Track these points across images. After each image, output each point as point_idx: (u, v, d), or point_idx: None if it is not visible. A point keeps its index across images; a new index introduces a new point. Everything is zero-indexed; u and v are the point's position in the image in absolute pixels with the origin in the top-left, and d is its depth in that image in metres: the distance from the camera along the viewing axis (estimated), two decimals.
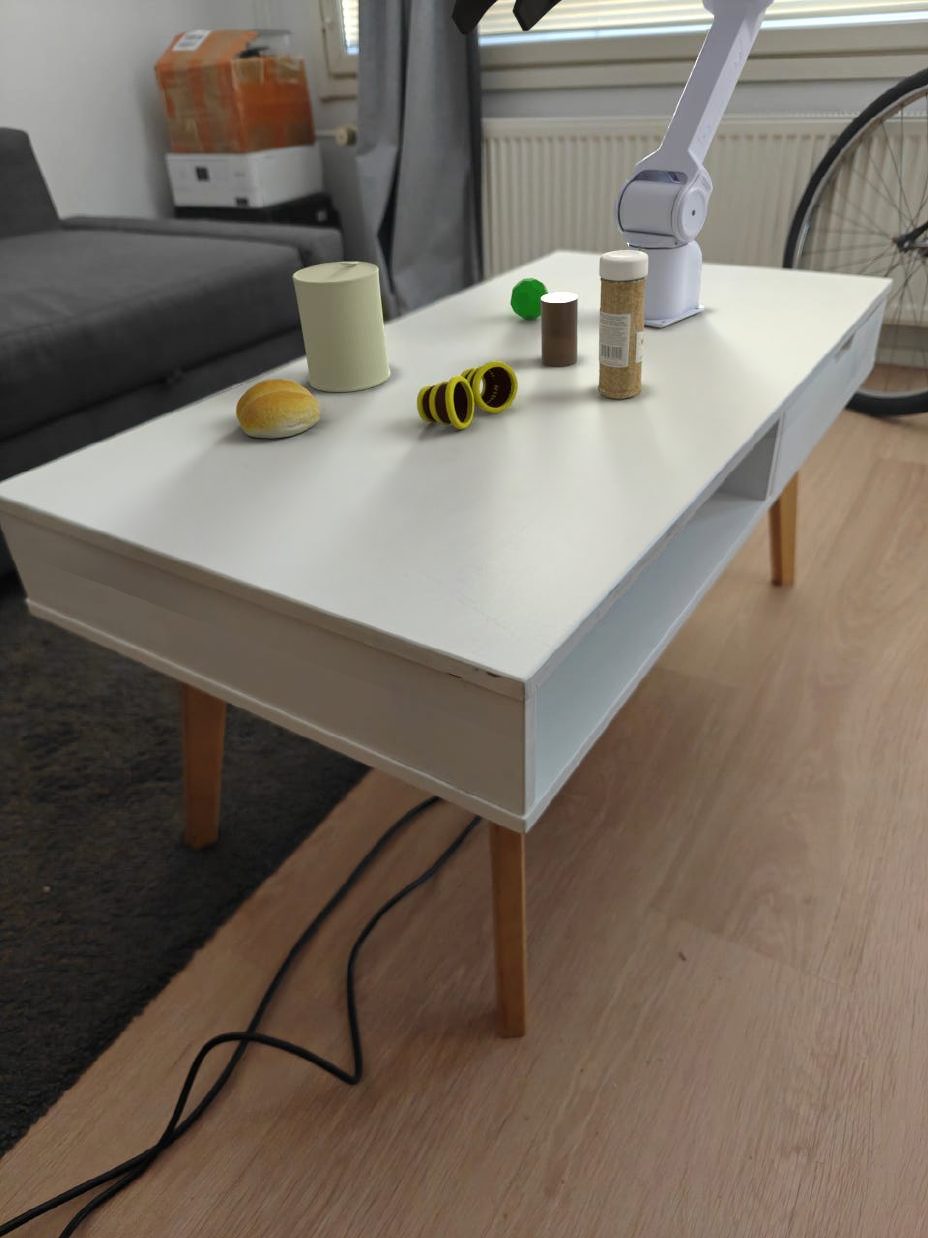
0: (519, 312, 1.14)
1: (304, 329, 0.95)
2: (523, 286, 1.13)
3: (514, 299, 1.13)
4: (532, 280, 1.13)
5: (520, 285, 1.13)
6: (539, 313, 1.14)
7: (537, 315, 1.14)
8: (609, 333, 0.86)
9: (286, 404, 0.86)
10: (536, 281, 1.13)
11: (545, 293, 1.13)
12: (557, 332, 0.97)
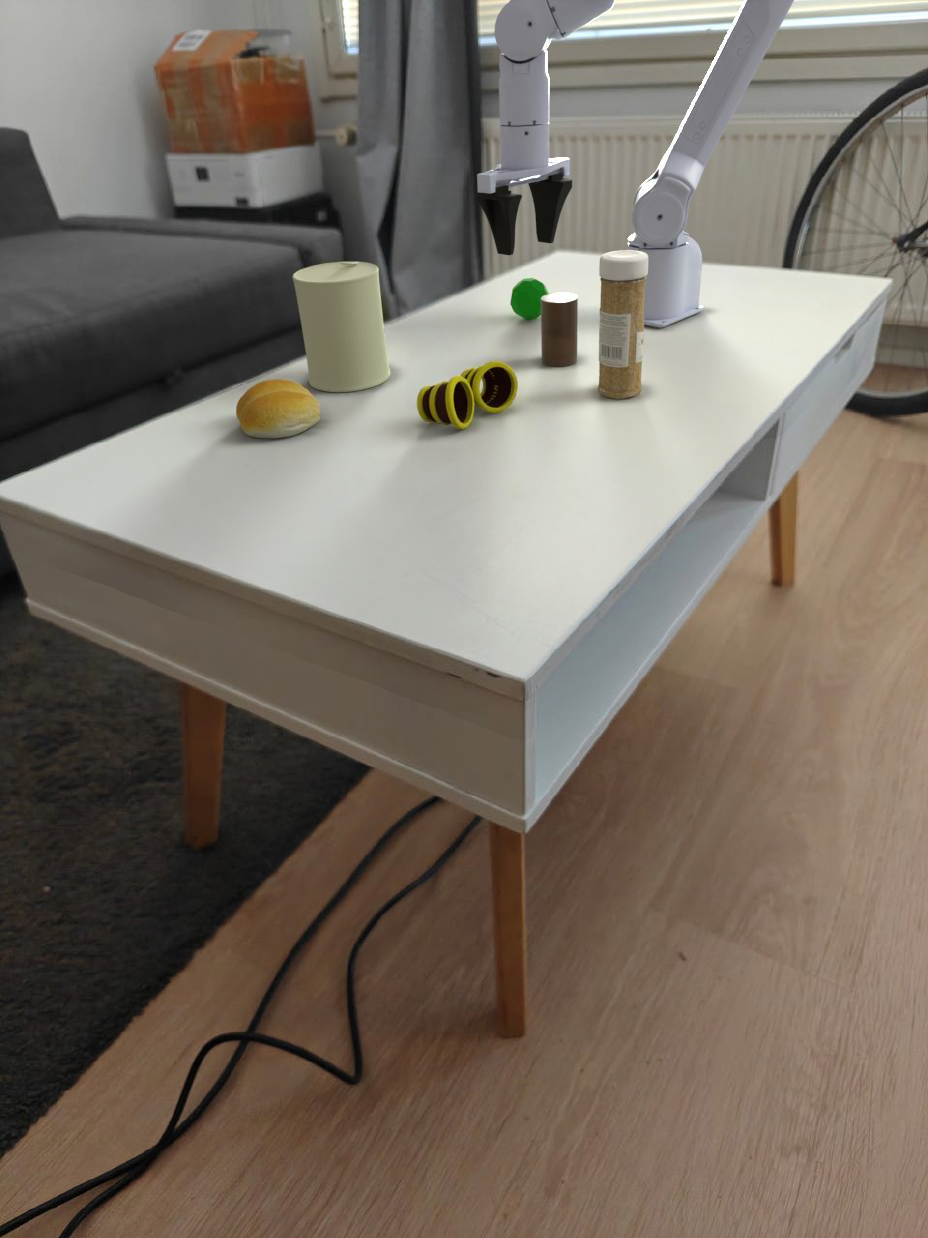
0: (519, 312, 1.14)
1: (304, 329, 0.95)
2: (523, 286, 1.13)
3: (514, 299, 1.13)
4: (532, 280, 1.13)
5: (520, 285, 1.13)
6: (539, 313, 1.14)
7: (537, 315, 1.14)
8: (609, 333, 0.86)
9: (286, 404, 0.86)
10: (536, 281, 1.13)
11: (545, 293, 1.13)
12: (557, 332, 0.97)
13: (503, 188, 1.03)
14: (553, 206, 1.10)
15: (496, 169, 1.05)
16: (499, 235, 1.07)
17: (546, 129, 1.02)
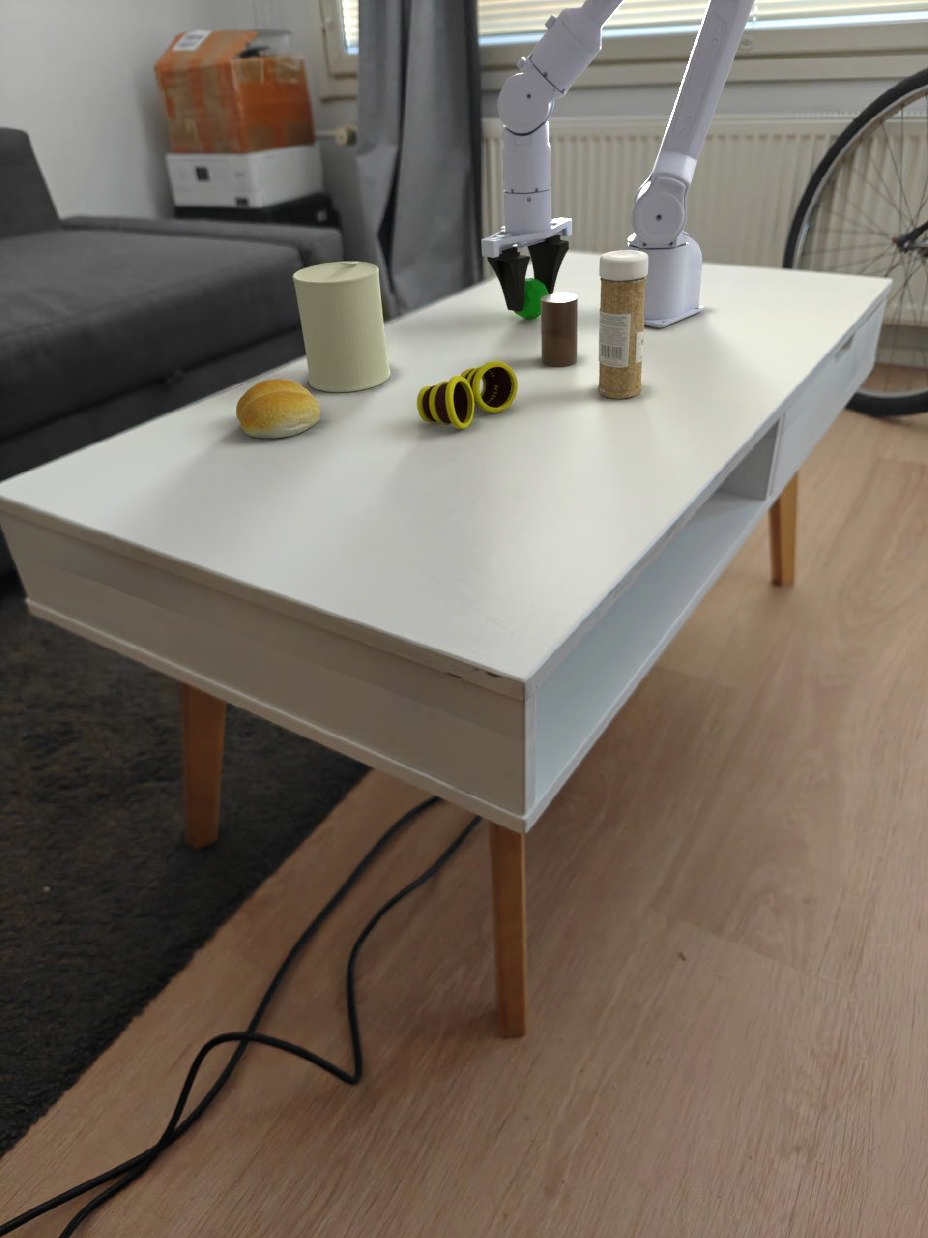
0: (519, 312, 1.14)
1: (304, 329, 0.95)
2: None
3: None
4: (532, 280, 1.13)
5: None
6: (539, 313, 1.14)
7: (537, 315, 1.14)
8: (609, 333, 0.86)
9: (286, 404, 0.86)
10: (536, 281, 1.13)
11: (545, 293, 1.13)
12: (557, 332, 0.97)
13: (512, 250, 1.08)
14: (550, 267, 1.13)
15: (500, 232, 1.10)
16: (509, 293, 1.12)
17: (548, 195, 1.06)
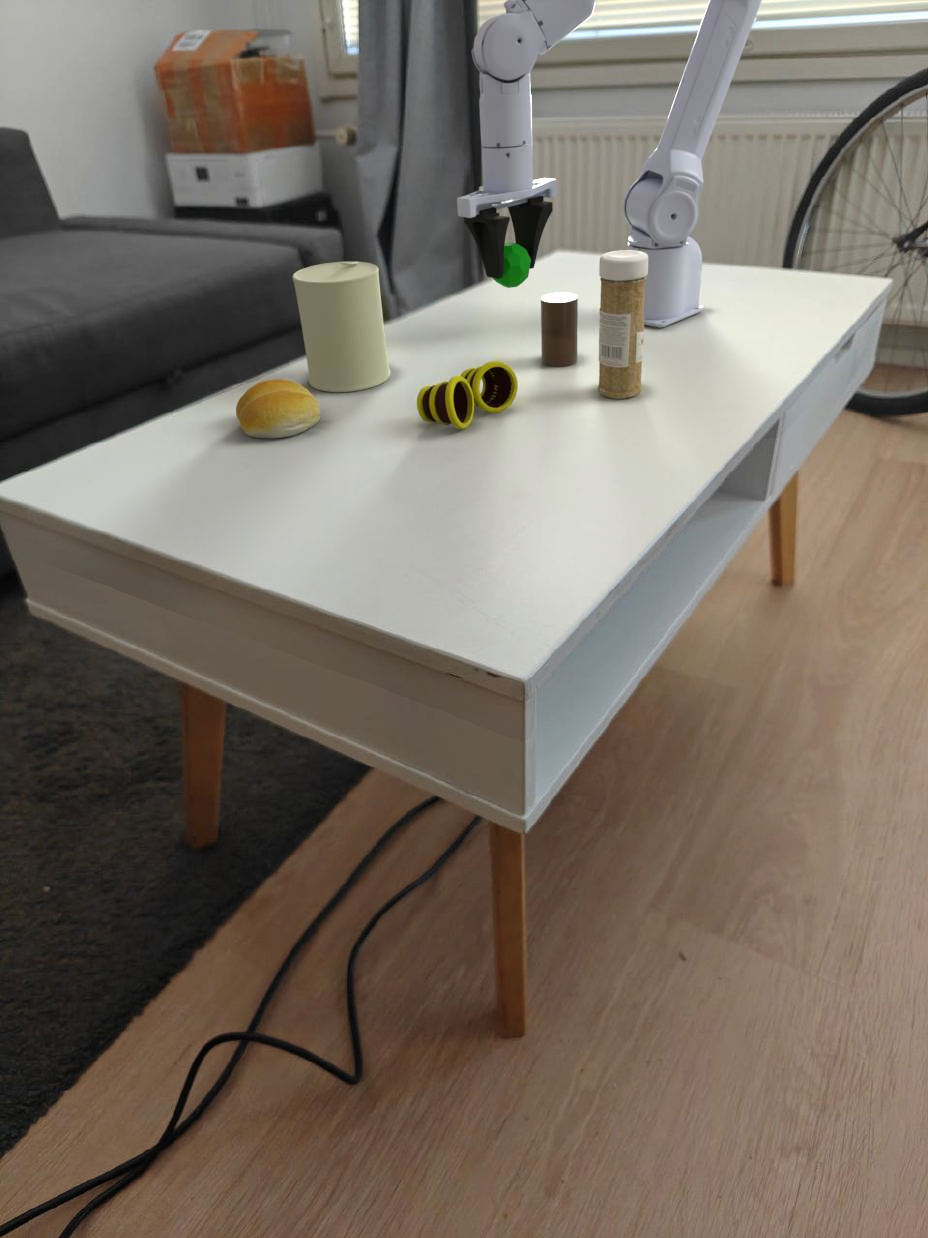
0: (499, 279, 1.06)
1: (304, 329, 0.95)
2: None
3: None
4: (513, 244, 1.05)
5: None
6: (520, 280, 1.06)
7: (518, 283, 1.06)
8: (609, 333, 0.86)
9: (286, 404, 0.86)
10: (517, 246, 1.05)
11: (527, 259, 1.05)
12: (557, 332, 0.97)
13: (491, 210, 1.00)
14: (533, 230, 1.05)
15: (478, 192, 1.02)
16: (488, 258, 1.04)
17: (529, 150, 0.98)
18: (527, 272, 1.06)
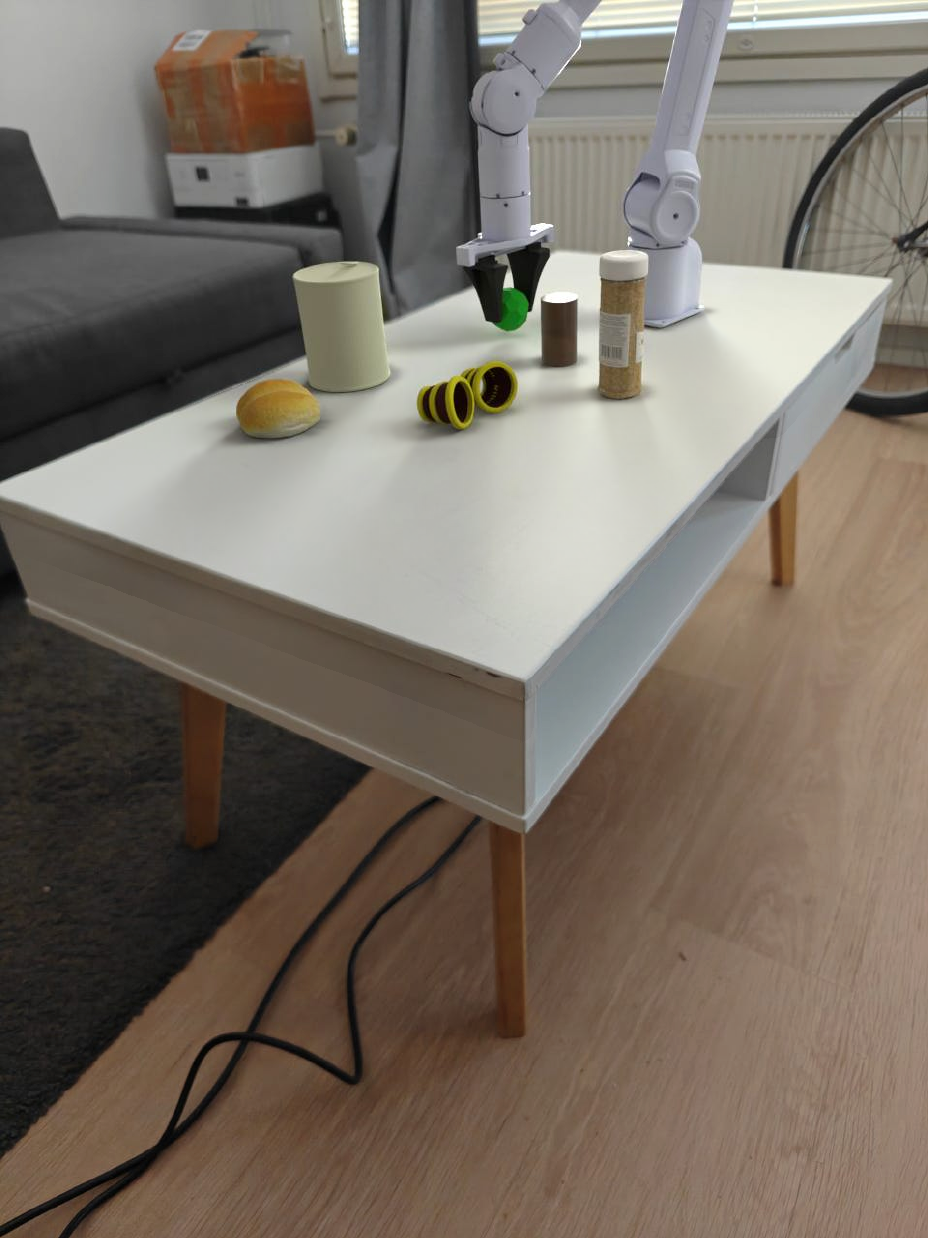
0: (497, 323, 1.08)
1: (304, 329, 0.95)
2: None
3: None
4: (511, 290, 1.07)
5: None
6: (518, 324, 1.08)
7: (516, 327, 1.08)
8: (609, 333, 0.86)
9: (286, 404, 0.86)
10: (515, 291, 1.07)
11: (525, 303, 1.07)
12: (557, 332, 0.97)
13: (489, 258, 1.02)
14: (531, 276, 1.07)
15: (477, 239, 1.03)
16: (486, 303, 1.06)
17: (527, 200, 1.00)
18: (525, 316, 1.08)
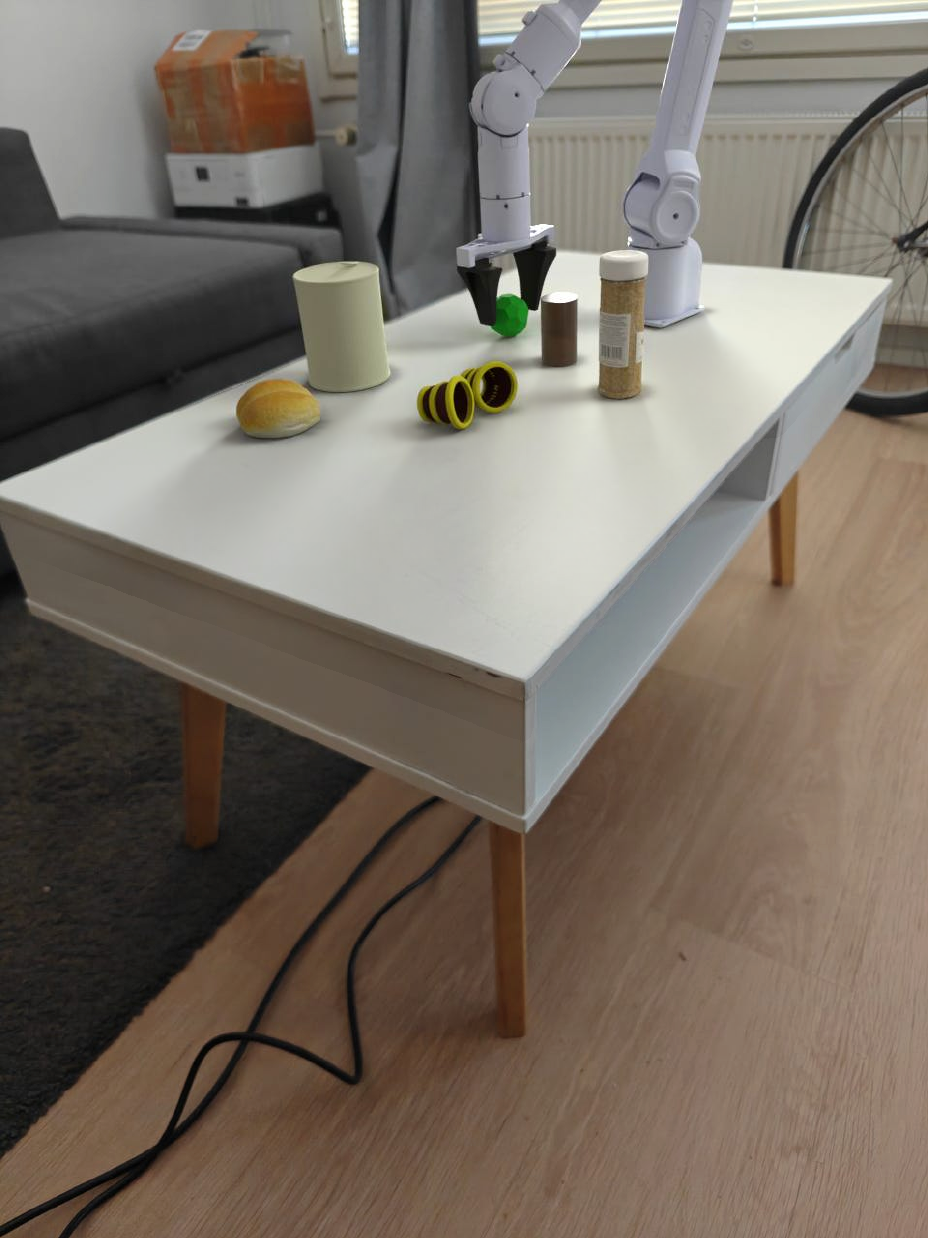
0: (497, 329, 1.08)
1: (304, 329, 0.95)
2: (501, 302, 1.07)
3: None
4: (511, 296, 1.07)
5: (498, 302, 1.07)
6: (518, 330, 1.08)
7: (516, 333, 1.09)
8: (609, 333, 0.86)
9: (286, 404, 0.86)
10: (515, 297, 1.07)
11: (524, 310, 1.07)
12: (557, 332, 0.97)
13: (483, 261, 1.01)
14: (537, 274, 1.08)
15: (477, 240, 1.03)
16: (481, 306, 1.05)
17: (527, 201, 1.00)
18: (525, 322, 1.08)
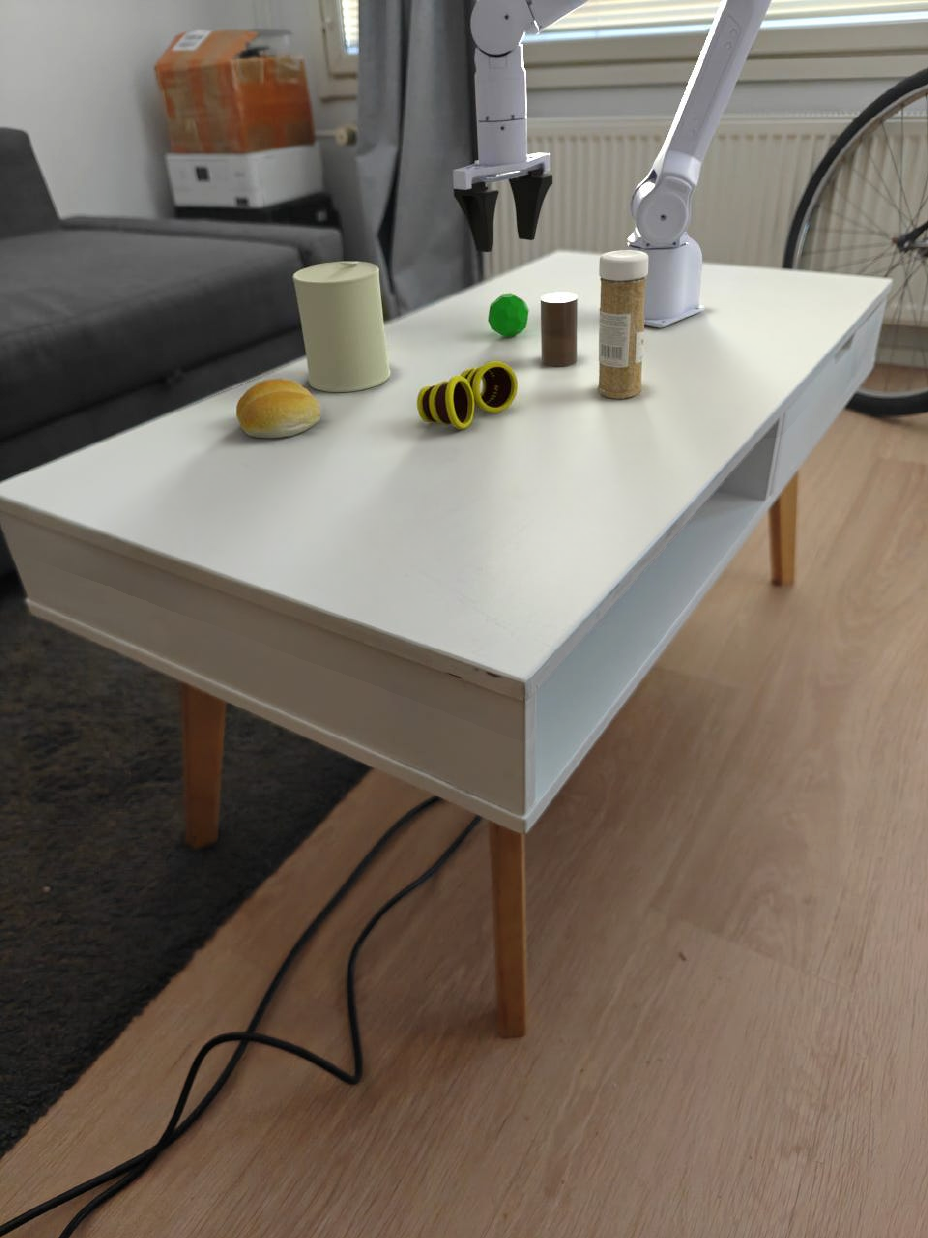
0: (497, 329, 1.08)
1: (304, 329, 0.95)
2: (501, 302, 1.07)
3: (492, 316, 1.07)
4: (511, 296, 1.07)
5: (498, 302, 1.07)
6: (518, 330, 1.08)
7: (516, 333, 1.09)
8: (609, 333, 0.86)
9: (286, 404, 0.86)
10: (515, 297, 1.07)
11: (524, 310, 1.07)
12: (557, 332, 0.97)
13: (480, 184, 1.02)
14: (533, 202, 1.08)
15: (473, 165, 1.04)
16: (477, 232, 1.06)
17: (523, 124, 1.01)
18: (525, 322, 1.08)
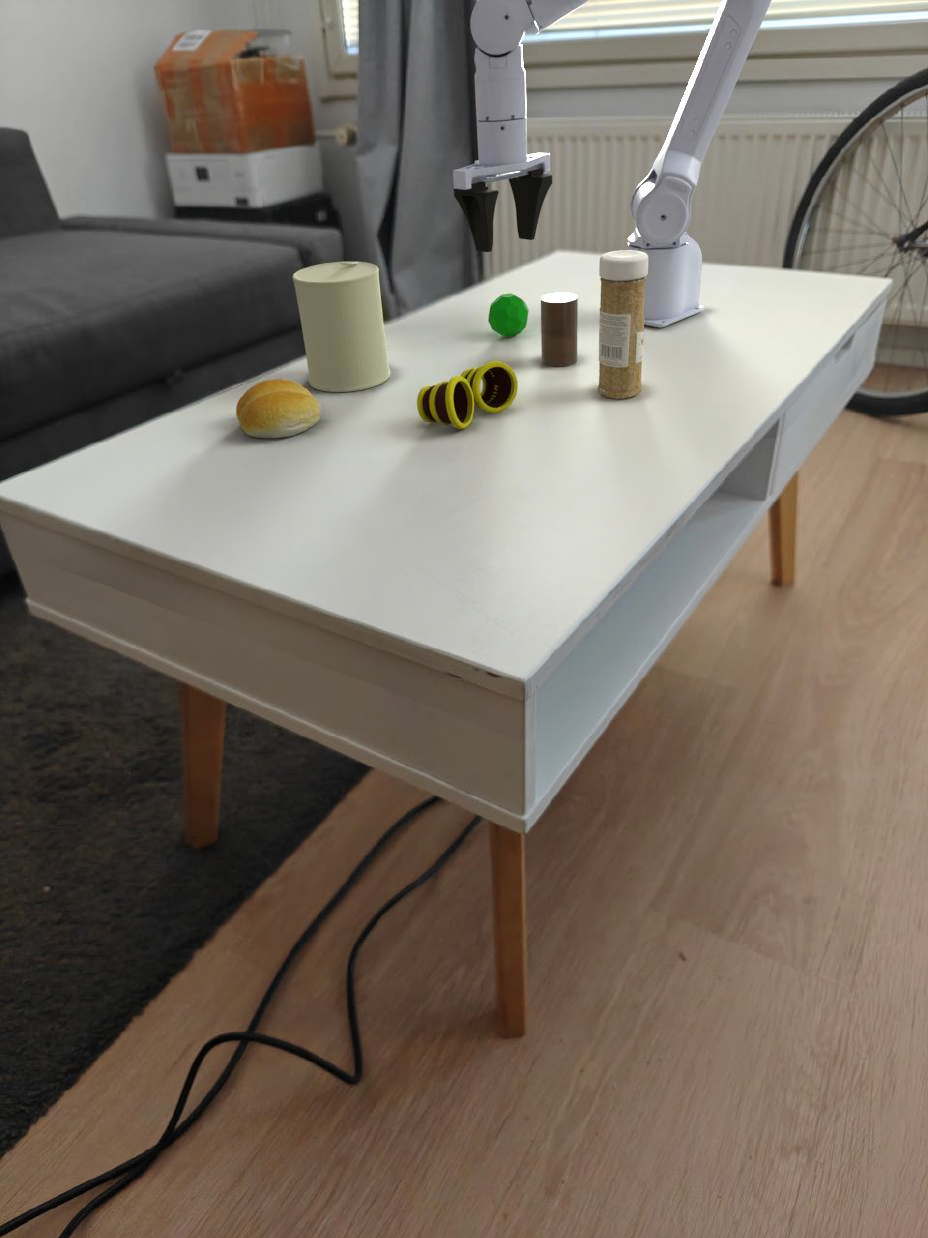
0: (497, 329, 1.08)
1: (304, 329, 0.95)
2: (501, 302, 1.07)
3: (492, 316, 1.07)
4: (511, 296, 1.07)
5: (498, 302, 1.07)
6: (518, 330, 1.08)
7: (516, 333, 1.09)
8: (609, 333, 0.86)
9: (286, 404, 0.86)
10: (515, 297, 1.07)
11: (524, 310, 1.07)
12: (557, 332, 0.97)
13: (480, 184, 1.02)
14: (533, 202, 1.08)
15: (473, 165, 1.04)
16: (477, 232, 1.06)
17: (523, 124, 1.01)
18: (525, 322, 1.08)
